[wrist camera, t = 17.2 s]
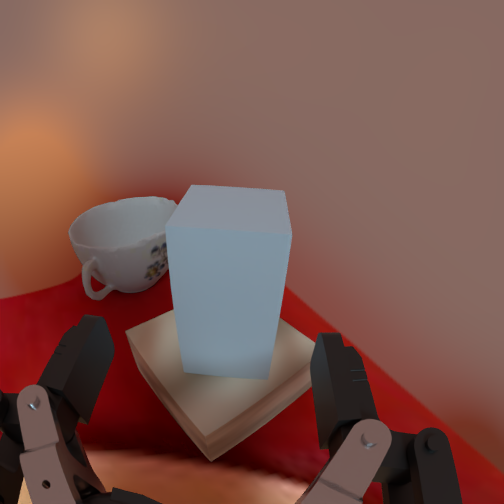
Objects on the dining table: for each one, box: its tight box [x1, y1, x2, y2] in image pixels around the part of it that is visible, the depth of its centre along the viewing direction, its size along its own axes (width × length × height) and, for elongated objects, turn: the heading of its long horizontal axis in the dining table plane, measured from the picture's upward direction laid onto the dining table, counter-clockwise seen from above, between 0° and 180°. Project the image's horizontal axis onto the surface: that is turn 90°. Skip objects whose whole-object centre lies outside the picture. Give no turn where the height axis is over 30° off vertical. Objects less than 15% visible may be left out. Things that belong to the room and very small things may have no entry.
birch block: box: [125, 309, 315, 461], centre depth 21 cm, size 10×10×5 cm
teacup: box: [68, 196, 178, 300], centre depth 30 cm, size 15×12×8 cm
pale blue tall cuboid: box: [165, 185, 292, 380], centre depth 17 cm, size 5×5×10 cm
